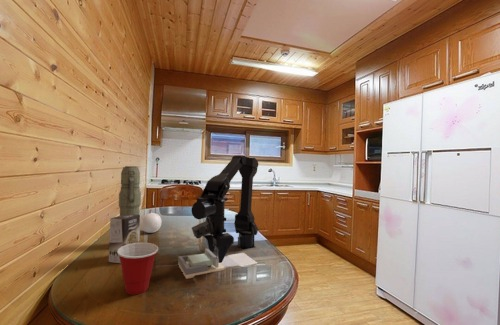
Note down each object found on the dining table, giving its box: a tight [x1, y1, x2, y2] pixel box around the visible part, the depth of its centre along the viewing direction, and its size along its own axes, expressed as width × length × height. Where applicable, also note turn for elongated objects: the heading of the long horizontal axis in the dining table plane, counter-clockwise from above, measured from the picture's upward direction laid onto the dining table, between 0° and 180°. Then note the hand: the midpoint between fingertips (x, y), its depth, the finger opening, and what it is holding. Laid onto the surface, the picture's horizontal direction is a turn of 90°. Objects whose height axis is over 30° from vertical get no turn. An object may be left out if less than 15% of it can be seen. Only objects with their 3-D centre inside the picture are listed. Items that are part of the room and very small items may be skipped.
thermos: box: [118, 165, 142, 243], centre depth 110 cm, size 9×12×35 cm
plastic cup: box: [117, 242, 159, 296], centre depth 70 cm, size 11×11×12 cm
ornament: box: [140, 209, 162, 234], centre depth 131 cm, size 10×10×12 cm
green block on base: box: [188, 247, 219, 267], centre depth 86 cm, size 8×12×4 cm, turn 28°
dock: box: [177, 252, 258, 280], centre depth 89 cm, size 26×12×3 cm, turn 118°
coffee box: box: [108, 214, 141, 264], centre depth 94 cm, size 9×6×16 cm
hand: (215, 258), depth 89 cm, fingers open, 9 cm apart
